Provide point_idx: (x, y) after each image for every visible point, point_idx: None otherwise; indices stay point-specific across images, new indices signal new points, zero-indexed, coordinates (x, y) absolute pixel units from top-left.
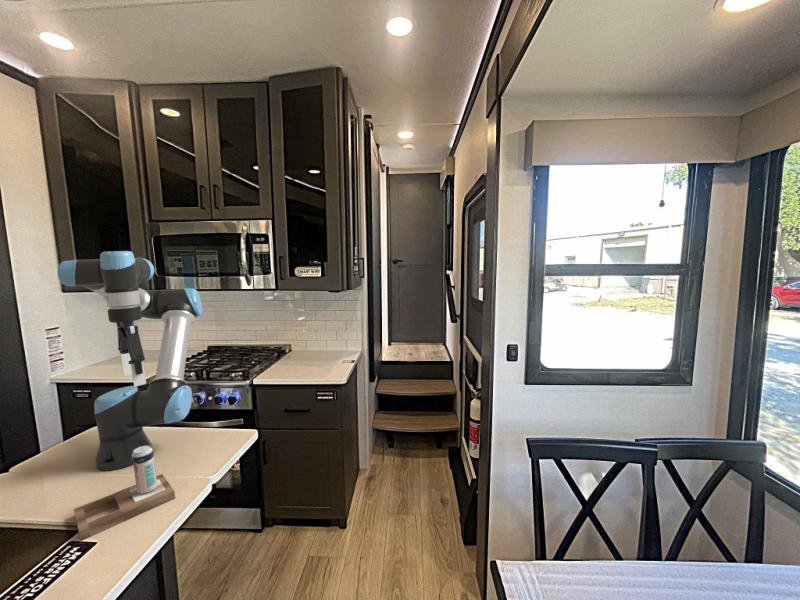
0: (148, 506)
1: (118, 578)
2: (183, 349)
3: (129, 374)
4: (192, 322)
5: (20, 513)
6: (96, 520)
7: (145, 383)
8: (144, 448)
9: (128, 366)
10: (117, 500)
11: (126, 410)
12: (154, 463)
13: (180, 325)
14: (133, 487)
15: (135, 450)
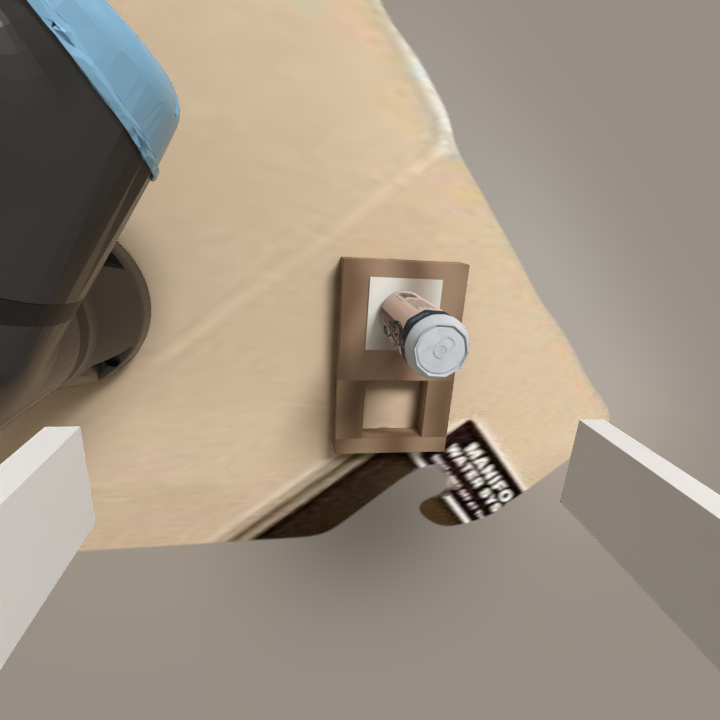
0: None
1: (601, 407)
2: None
3: (87, 481)
4: None
5: (209, 524)
6: (429, 423)
7: (603, 426)
8: (442, 342)
9: (26, 556)
10: (383, 378)
11: (29, 347)
12: (436, 306)
13: None
14: (351, 337)
15: (428, 368)
